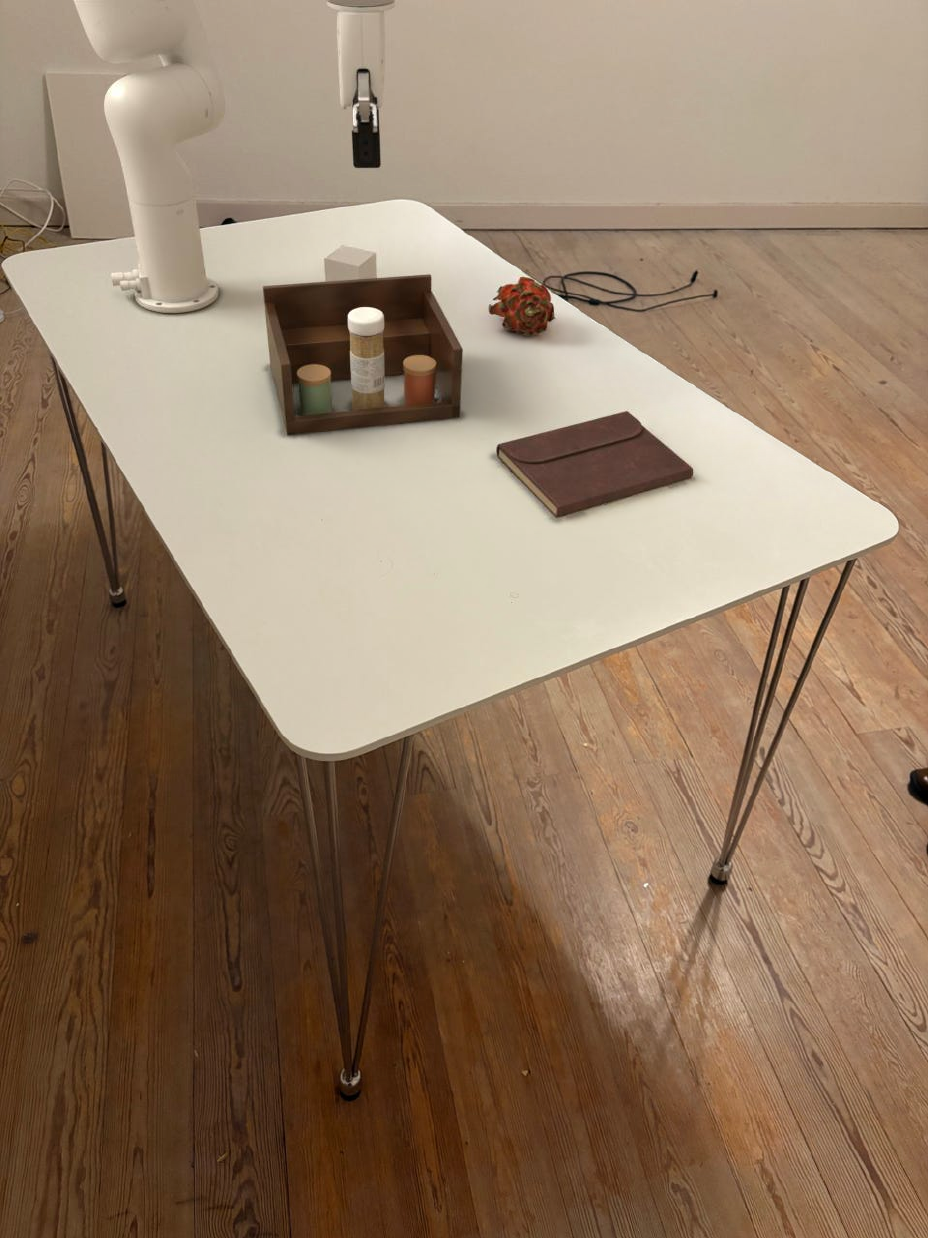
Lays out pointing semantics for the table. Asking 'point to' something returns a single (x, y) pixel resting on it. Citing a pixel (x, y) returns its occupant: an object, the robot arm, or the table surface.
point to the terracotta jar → (419, 379)
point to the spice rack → (318, 334)
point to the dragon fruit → (524, 307)
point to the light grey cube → (350, 264)
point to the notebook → (592, 463)
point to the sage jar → (314, 389)
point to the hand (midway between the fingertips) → (366, 153)
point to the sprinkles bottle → (366, 358)
